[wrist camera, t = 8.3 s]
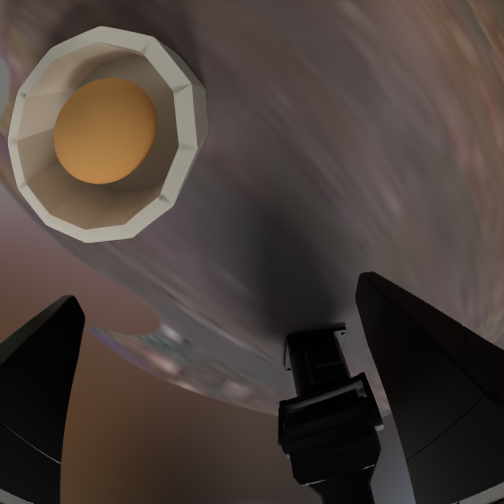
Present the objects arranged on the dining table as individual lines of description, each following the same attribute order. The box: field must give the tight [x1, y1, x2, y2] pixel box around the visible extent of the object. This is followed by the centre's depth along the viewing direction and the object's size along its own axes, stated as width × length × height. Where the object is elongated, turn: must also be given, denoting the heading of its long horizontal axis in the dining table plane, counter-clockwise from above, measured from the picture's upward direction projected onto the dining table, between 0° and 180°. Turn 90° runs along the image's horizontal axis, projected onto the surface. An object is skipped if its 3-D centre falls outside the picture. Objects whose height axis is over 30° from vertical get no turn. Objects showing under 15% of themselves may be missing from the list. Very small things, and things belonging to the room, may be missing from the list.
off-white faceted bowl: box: [8, 26, 209, 243], centre depth 13 cm, size 11×11×6 cm
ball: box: [54, 78, 157, 184], centre depth 12 cm, size 6×6×6 cm
